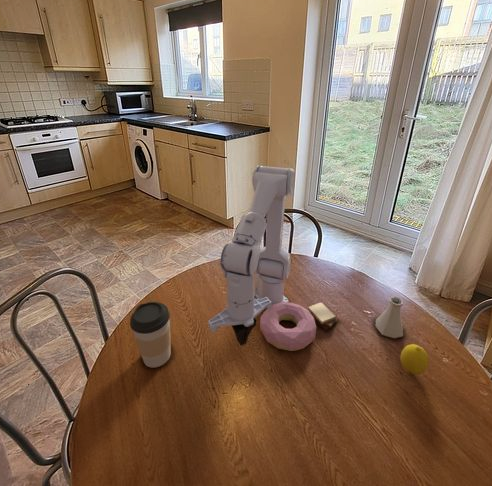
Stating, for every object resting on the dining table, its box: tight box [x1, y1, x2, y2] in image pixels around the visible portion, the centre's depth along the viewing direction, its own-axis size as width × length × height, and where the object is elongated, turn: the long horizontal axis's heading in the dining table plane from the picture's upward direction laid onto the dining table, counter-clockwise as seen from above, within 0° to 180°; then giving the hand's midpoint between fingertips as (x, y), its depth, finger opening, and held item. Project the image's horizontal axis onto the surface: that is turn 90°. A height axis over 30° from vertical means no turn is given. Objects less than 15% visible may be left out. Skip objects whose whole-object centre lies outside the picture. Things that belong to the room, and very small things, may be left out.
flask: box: [375, 296, 404, 339], centre depth 80 cm, size 7×7×10 cm
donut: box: [259, 301, 317, 352], centre depth 80 cm, size 16×15×5 cm
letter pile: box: [307, 301, 338, 331], centre depth 84 cm, size 8×7×2 cm
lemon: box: [400, 343, 429, 376], centre depth 68 cm, size 6×6×8 cm
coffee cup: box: [129, 301, 172, 369], centre depth 71 cm, size 9×9×15 cm
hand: (241, 341), depth 67 cm, fingers closed
